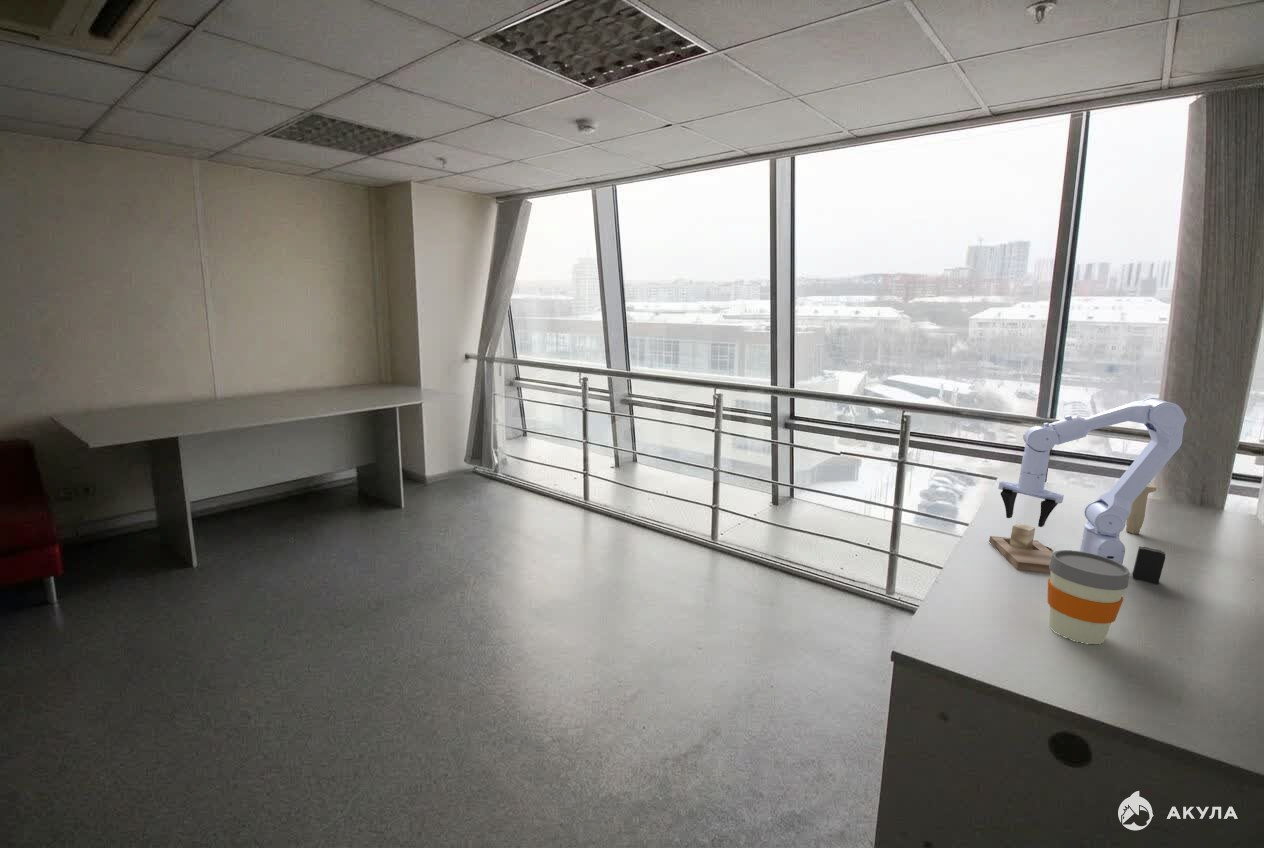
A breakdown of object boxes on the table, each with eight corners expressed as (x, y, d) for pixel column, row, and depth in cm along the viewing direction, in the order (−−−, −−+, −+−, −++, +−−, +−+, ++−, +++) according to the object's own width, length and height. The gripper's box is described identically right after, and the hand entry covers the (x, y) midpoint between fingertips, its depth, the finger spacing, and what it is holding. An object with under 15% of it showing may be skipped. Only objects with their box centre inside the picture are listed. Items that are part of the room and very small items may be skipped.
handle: (1146, 537, 178) (1157, 488, 175) (1118, 531, 182) (1128, 483, 179) (1145, 533, 182) (1156, 485, 179) (1118, 527, 185) (1128, 480, 183)
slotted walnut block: (1070, 575, 149) (1071, 567, 149) (1017, 569, 151) (1018, 561, 151) (1036, 547, 166) (1037, 540, 166) (988, 542, 168) (990, 535, 168)
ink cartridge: (1157, 581, 147) (1165, 551, 146) (1158, 585, 146) (1166, 553, 144) (1131, 575, 150) (1139, 545, 149) (1132, 578, 149) (1139, 547, 147)
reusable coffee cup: (1042, 610, 130) (1054, 544, 127) (1116, 632, 122) (1131, 562, 119) (1034, 633, 120) (1047, 562, 118) (1114, 658, 113) (1130, 582, 110)
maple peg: (1030, 552, 163) (1035, 527, 161) (1025, 555, 160) (1029, 530, 159) (1014, 547, 166) (1018, 523, 164) (1008, 550, 163) (1012, 525, 162)
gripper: (1071, 476, 156) (1061, 527, 158) (1009, 464, 167) (1001, 511, 169) (1061, 480, 151) (1051, 532, 154) (998, 467, 163) (990, 515, 165)
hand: (1024, 521), depth 161 cm, fingers open, 7 cm apart
